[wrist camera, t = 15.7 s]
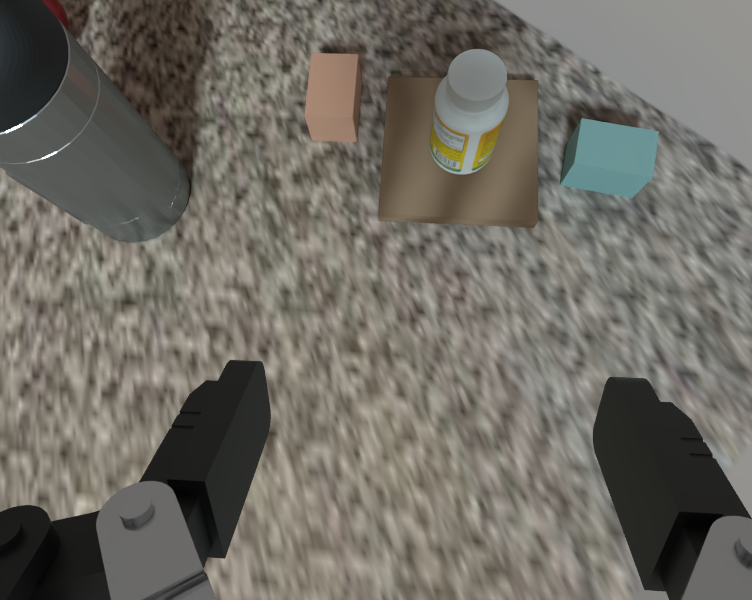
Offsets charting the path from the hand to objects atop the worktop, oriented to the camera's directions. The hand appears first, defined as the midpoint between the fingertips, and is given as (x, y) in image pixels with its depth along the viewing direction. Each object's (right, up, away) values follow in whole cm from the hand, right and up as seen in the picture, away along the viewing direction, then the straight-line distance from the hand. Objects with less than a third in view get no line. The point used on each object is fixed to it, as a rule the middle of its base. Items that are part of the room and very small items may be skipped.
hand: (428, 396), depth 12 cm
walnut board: (+6, +15, +33) cm, 37 cm away
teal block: (+18, +13, +33) cm, 40 cm away
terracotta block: (-5, +19, +35) cm, 41 cm away
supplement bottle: (+6, +15, +32) cm, 36 cm away
